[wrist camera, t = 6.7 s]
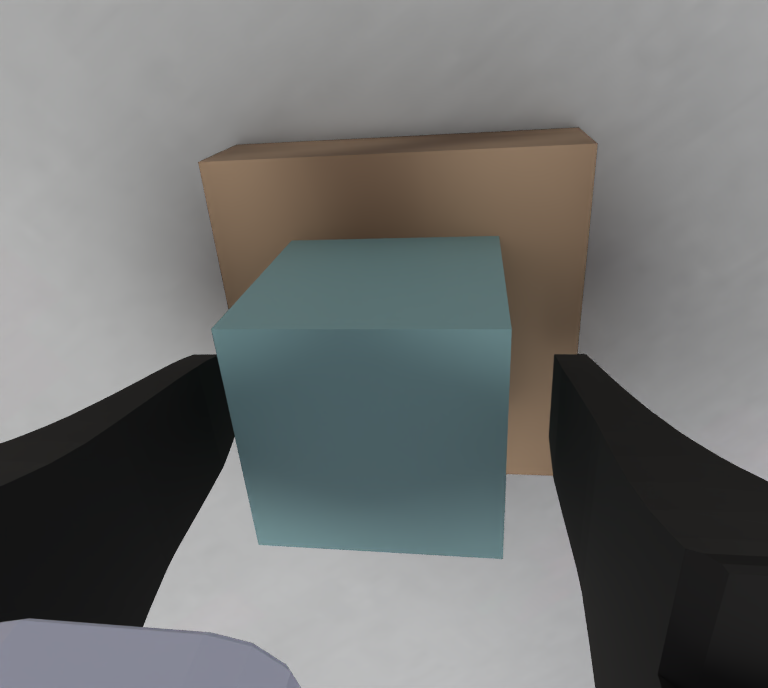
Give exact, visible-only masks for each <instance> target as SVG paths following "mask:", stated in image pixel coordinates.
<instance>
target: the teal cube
mask: <svg viewBox="0 0 768 688" xmlns="http://www.w3.org/2000/svg"><path fill="white" fill-rule="evenodd" d="M211 330H212V335H213V339H214V344H215V348H216V353H217V357H218V362H219V367H220V371H221V376H222V380H223V385H224V389H225V394H226V398H227V403H228V407H229V412H230V417H231V421H232V426H233V430H234V435H235V439H236V444H237V448H238V453H239V457H240V462H241V467H242V471H243V476H244V480H245V485H246V489H247V494H248V498H249V503H250V507H251V512H252V517H253V521H254V526H255V530H256V535H257V539H258V544H259V545H271V546H288V547H306V548H323V549H340V550H357V551H375V552H392V553H409V554H426V555H444V556H461V557H478V558H495V559H503V539H504V513H505V488H506V462H507V437H508V412H509V386H510V361H511V335H512V328H511V320H510V313H509V306H508V298H507V291H506V283H505V276H504V269H503V261H502V254H501V247H500V239H499V236H472V237H427V238H383V239H338V240H294V241H291V242H290V243H289V244H288V245H287V246H286V247H285V248H284V249H283V251H282V252H281V253H280V254H279V255H278V256H277V257H276V258H275V259H274V260H273V262H272V263H271V264H270V265H269V266H268V267H267V268H266V269H265V270H264V272H263V273H262V274H261V275H260V276H259V277H258V278H257V279H256V280H255V281H254V283H253V284H252V285H251V286H250V287H249V288H248V289H247V290H246V291H245V292H244V294H243V295H242V296H241V297H240V298H239V299H238V300H237V301H236V302H235V304H234V305H233V306H232V307H231V308H230V309H229V310H228V311H227V312H226V313H225V315H224V316H223V317H222V318H221V319H220V320H219V321H218V322H217V323H216V324H215V326H214V327H213V328H212V329H211Z"/></svg>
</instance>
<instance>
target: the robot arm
mask: <svg viewBox="0 0 768 688" xmlns="http://www.w3.org/2000/svg"><path fill="white" fill-rule="evenodd" d="M234 437H235V435H234V430H233V426H232V421H231V417H230V412H229V407H228V403H227V398H226V394H225V389H224V385H223V380H222V376H221V371H220V367H219V362H218V357H217V355H191V356H188V357H186V358H183V359H181V360H179V361H177V362H175V363H172V364H170V365H168V366H166V367H164V368H163V369H161V370H159V371H157V372H155V373H153V374H151V375H149V376H147V377H145V378H143V379H142V380H140V381H138V382H136V383H134V384H132V385H130V386H128V387H126V388H125V389H123V390H121V391H119V392H117V393H115V394H113V395H111V396H109V397H107V398H105V399H103V400H101V401H99V402H97V403H95V404H93V405H91V406H89V407H87V408H85V409H83V410H81V411H78V412H76V413H74V414H72V415H70V416H68V417H66V418H64V419H61V420H59V421H57V422H54V423H52V424H50V425H48V426H45V427H43V428H40V429H38V430H35V431H33V432H30V433H28V434H25V435H23V436H20V437H17V438H15V439H12V440H9V441H6V442H3V443H0V688H301V687H300V685H299V684H298V682H297V680H296V679H295V677H294V676H293V674H292V672H291V671H290V669H289V668H288V666H287V665H286V664H284V663H283V662H281V661H280V660H278V659H277V658H275V657H273V656H272V655H270V654H269V653H267V652H266V651H264V650H263V649H261V648H259V647H258V646H256V645H255V644H253V643H251V642H247V641H243V640H239V639H235V638H231V637H227V636H223V635H219V634H215V633H211V632H198V631H186V630H173V629H160V628H147V627H143V625H144V623H145V620H146V618H147V615H148V612H149V610H150V608H151V605H152V603H153V601H154V598H155V596H156V594H157V591H158V589H159V587H160V584H161V582H162V580H163V577H164V575H165V573H166V570H167V568H168V566H169V564H170V562H171V560H172V558H173V556H174V554H175V552H176V550H177V549H178V547H179V545H180V543H181V542H182V540H183V538H184V536H185V535H186V533H187V531H188V529H189V528H190V526H191V524H192V522H193V520H194V519H195V517H196V515H197V513H198V512H199V510H200V508H201V506H202V505H203V503H204V501H205V499H206V498H207V496H208V494H209V492H210V490H211V489H212V487H213V485H214V483H215V481H216V480H217V478H218V476H219V474H220V472H221V470H222V468H223V466H224V464H225V461H226V459H227V456H228V454H229V451H230V448H231V446H232V443H233V440H234ZM549 445H550V454H551V463H552V470H553V478H554V482H555V486H556V490H557V494H558V498H559V502H560V506H561V510H562V514H563V518H564V522H565V525H566V529H567V533H568V537H569V541H570V545H571V548H572V552H573V556H574V560H575V564H576V568H577V572H578V576H579V581H580V586H581V591H582V596H583V603H584V610H585V617H586V623H587V630H588V637H589V644H590V651H591V659H592V666H593V673H594V681H595V688H768V481H766V480H764V479H762V478H760V477H758V476H756V475H754V474H752V473H750V472H748V471H746V470H744V469H742V468H740V467H738V466H736V465H734V464H732V463H730V462H728V461H727V460H725V459H723V458H721V457H719V456H718V455H716V454H714V453H713V452H711V451H709V450H708V449H706V448H704V447H703V446H701V445H699V444H698V443H696V442H694V441H693V440H691V439H690V438H688V437H687V436H685V435H684V434H682V433H681V432H679V431H678V430H676V429H675V428H673V427H672V426H671V425H669V424H668V423H666V422H665V421H664V420H662V419H661V418H660V417H658V416H657V415H655V414H654V413H653V412H651V411H650V410H649V409H648V408H646V407H645V406H644V405H643V404H641V403H640V402H639V401H638V400H636V399H635V398H634V397H633V396H632V395H630V394H629V393H628V392H627V391H626V390H625V389H623V388H622V387H621V386H620V385H619V384H618V383H617V382H616V381H614V380H613V379H612V378H611V377H610V376H609V375H608V374H607V373H606V372H605V371H603V370H602V369H601V368H600V367H599V366H598V365H597V364H596V363H595V362H594V361H593V360H592V359H590V358H589V357H588V356H587V355H586V354H554V363H553V378H552V393H551V408H550V423H549Z"/></svg>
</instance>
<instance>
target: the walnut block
mask: <svg viewBox="0 0 768 688" xmlns="http://www.w3.org/2000/svg"><path fill="white" fill-rule="evenodd" d="M597 144H598V143H596V142H595V141H594V140H593V139H592V138H590V137H589V136H588V135H587V134H586V133H585V132H583V131H582V130H581V129H580V128H559V129H539V130H519V131H500V132H480V133H460V134H440V135H420V136H400V137H380V138H361V139H341V140H321V141H301V142H281V143H261V144H242V145H235V146H233V147H230V148H228V149H226V150H224V151H222V152H219V153H217V154H215V155H213V156H211V157H208V158H206V159H204V160H202V161H200V162H198V163H199V168H200V173H201V178H202V183H203V188H204V193H205V197H206V202H207V207H208V212H209V217H210V222H211V227H212V231H213V236H214V241H215V246H216V251H217V256H218V261H219V265H220V270H221V275H222V280H223V285H224V290H225V295H226V299H227V304H228V309H230V308H231V307H232V306H233V305H234V304H235V302H236V301H237V300H238V299H239V298H240V297H241V296H242V295H243V294H244V292H245V291H246V290H247V289H248V288H249V287H250V286H251V285H252V284H253V283H254V281H255V280H256V279H257V278H258V277H259V276H260V275H261V274H262V273H263V272H264V270H265V269H266V268H267V267H268V266H269V265H270V264H271V263H272V262H273V260H274V259H275V258H276V257H277V256H278V255H279V254H280V253H281V252H282V251H283V249H284V248H285V247H286V246H287V245H288V244H289V243H290V242H291V241H294V240H338V239H383V238H427V237H472V236H499V239H500V247H501V254H502V261H503V269H504V276H505V283H506V291H507V298H508V306H509V313H510V320H511V328H512V335H511V361H510V386H509V412H508V437H507V462H506V474H522V475H550V476H553V470H552V463H551V454H550V445H549V423H550V408H551V393H552V378H553V363H554V354H577V351H578V341H579V330H580V320H581V310H582V299H583V289H584V279H585V268H586V258H587V248H588V237H589V227H590V217H591V206H592V196H593V186H594V175H595V165H596V155H597Z"/></svg>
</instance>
